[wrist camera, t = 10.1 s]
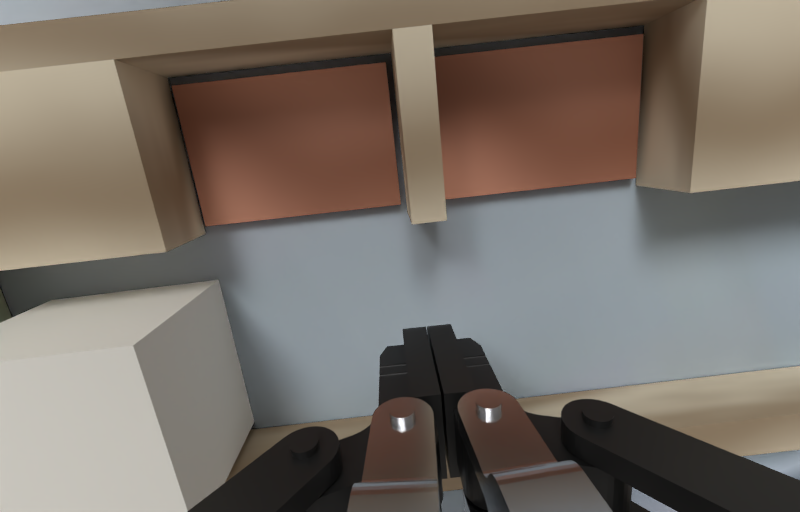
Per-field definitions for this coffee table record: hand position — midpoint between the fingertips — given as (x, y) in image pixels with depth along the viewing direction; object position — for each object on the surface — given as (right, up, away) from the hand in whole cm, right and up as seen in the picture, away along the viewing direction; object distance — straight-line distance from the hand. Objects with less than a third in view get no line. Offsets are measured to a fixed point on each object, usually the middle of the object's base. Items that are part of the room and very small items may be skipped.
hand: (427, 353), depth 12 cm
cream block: (-10, -1, +3) cm, 10 cm away
